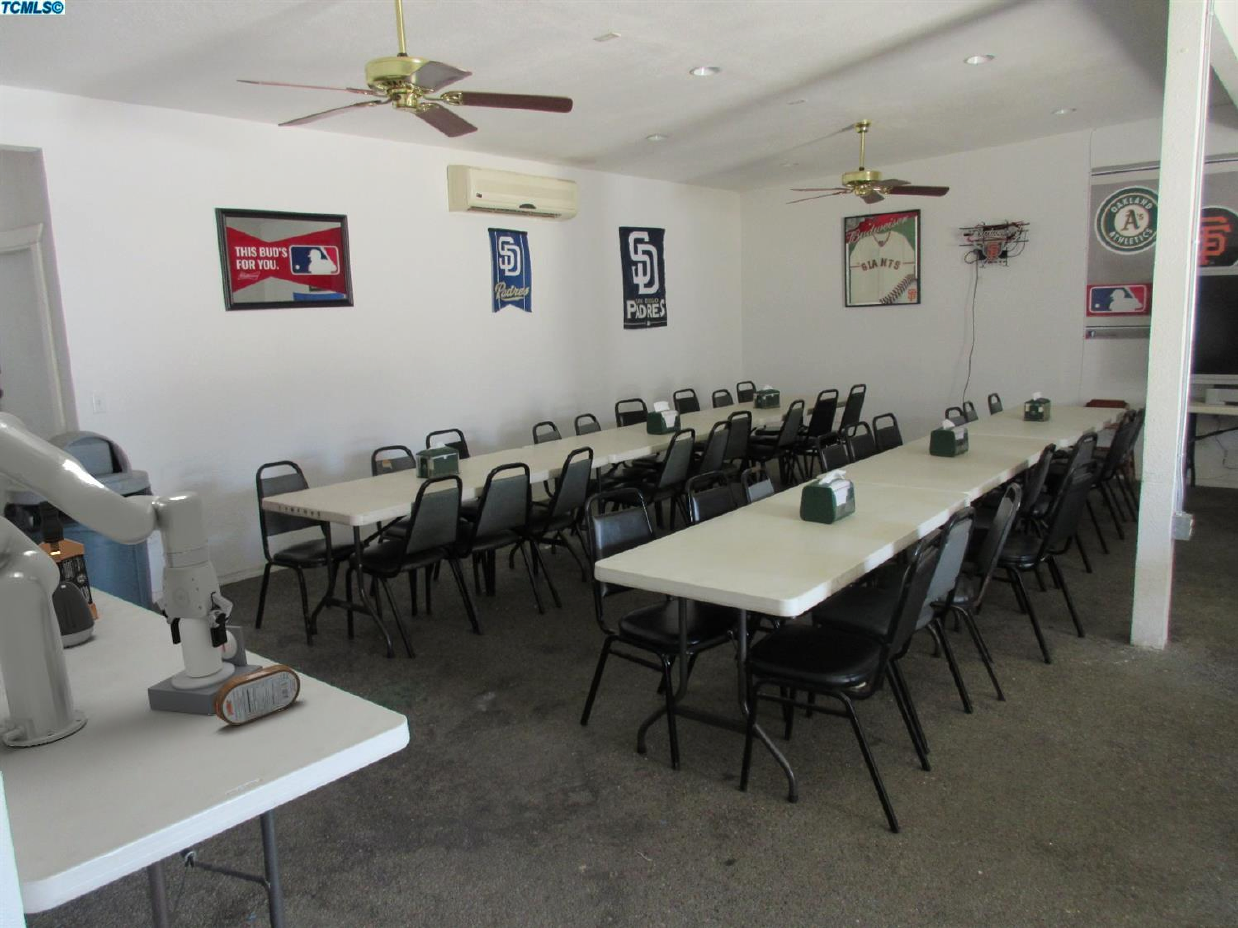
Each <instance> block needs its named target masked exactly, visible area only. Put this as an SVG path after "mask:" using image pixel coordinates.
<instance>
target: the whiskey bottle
mask: <svg viewBox="0 0 1238 928" xmlns="http://www.w3.org/2000/svg"><path fill="white" fill-rule="evenodd" d="M38 510H39V516H40V518H41V523H40V533H41V537H42V539H43V541H42V542H41V543H39V544H37V545H38V546H39V547H40V548H41V549H42V550H43V551H45V552H46V553H47V554H48V555H49V556H50V557H51V558H52V559H53V560H54V562H55V563H56V564H57V566H58V568H59V572H60V580H59V582H60V581H69V582H72V583H73V584H75V585H76V586H77V587H78V588H79V589H80V591H81V592H82V594H83V595H84V597H85V598H86V600H87V602H88V604H89V606H90V608H91V611H92V614H93V617H94V620H97V619H99V615H98V610H97V607H96V602H93V597H92V592H91V586H90V581H89V576H88V572H87V570H88V569H87V566H86V562H85V556H84V554H85V552H86V551H85V548H84V546H85V545H84V544H83V543H82V542H79V541H74V540H71V539H68V538H66V537H65V536H64V526H63V523H62V521H61V519H60V518H59V511H58V508H57V507H55V506H54V505H52V504H51V503H49V502H48V501H47V500H43V501H40V502H38Z"/></svg>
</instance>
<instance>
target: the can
mask: <svg viewBox="0 0 1238 928" xmlns="http://www.w3.org/2000/svg"><path fill="white" fill-rule="evenodd" d="M211 611H212V610H211ZM213 616H214V617H215V619H217V617H216V615H213ZM211 627H213V626H212V625H211V624H210V622H209V621H208V620H207V619H206V617H205V618H203V619H189V618H180V621H179V632H180V639H181V643H180V644H181V645H180V646H181V650H182V651H181V652H182V658H183V665H184V670H185V672H186V675H187V676H188V677H190V678H203V677H207V676H211V675H213V674H216V673H218V672H219V671H220V670H221V668H222V659H221V652H220V646H219V647H217V648H214V647H213V646H212V639H211V633H210V628H211Z"/></svg>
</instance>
